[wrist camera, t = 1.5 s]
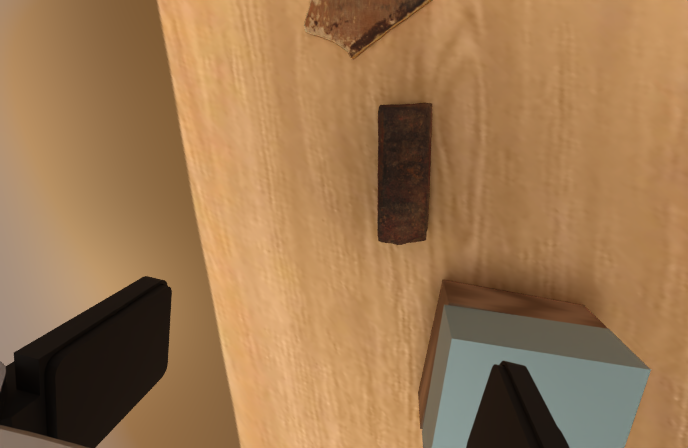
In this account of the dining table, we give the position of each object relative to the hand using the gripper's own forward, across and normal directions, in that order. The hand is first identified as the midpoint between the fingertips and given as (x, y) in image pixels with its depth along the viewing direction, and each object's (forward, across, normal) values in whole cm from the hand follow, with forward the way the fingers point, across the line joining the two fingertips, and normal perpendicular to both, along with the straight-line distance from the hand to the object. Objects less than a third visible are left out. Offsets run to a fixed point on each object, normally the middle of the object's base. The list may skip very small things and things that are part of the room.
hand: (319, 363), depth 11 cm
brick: (+24, -2, -3) cm, 24 cm away
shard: (+24, +4, -17) cm, 30 cm away
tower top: (+19, -14, +11) cm, 26 cm away
